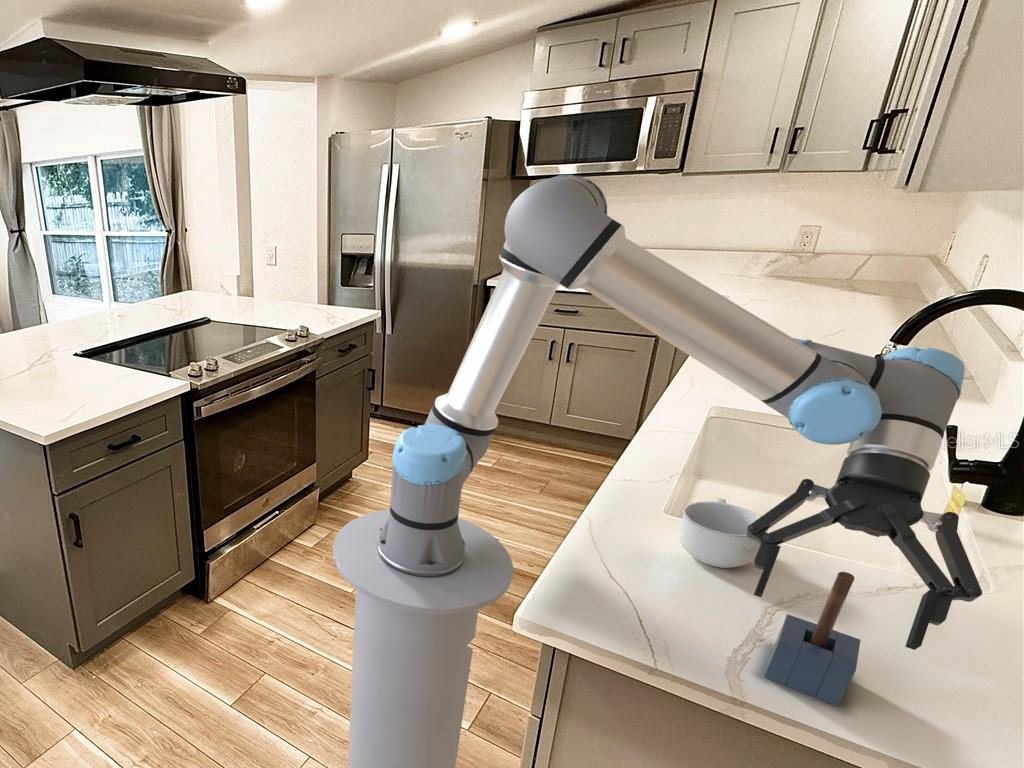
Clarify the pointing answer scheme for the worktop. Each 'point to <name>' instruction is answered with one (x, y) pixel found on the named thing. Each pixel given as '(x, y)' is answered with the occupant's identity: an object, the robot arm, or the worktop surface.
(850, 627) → the worktop surface
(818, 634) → the stick
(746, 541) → the teacup
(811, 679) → the stand
